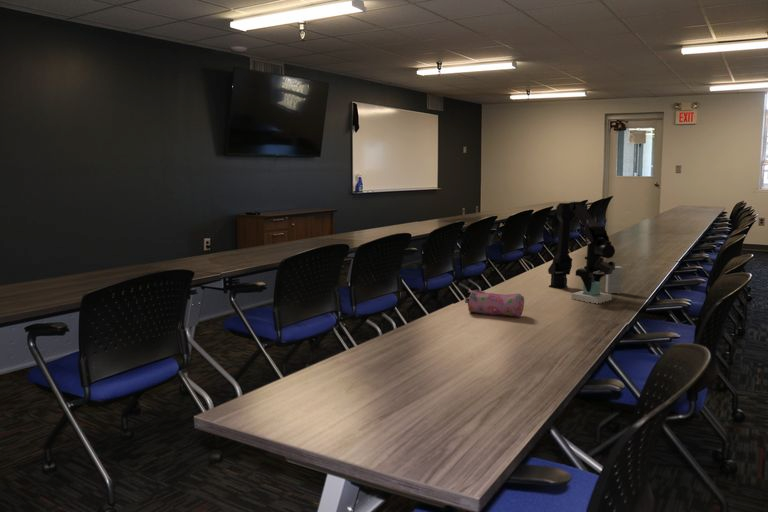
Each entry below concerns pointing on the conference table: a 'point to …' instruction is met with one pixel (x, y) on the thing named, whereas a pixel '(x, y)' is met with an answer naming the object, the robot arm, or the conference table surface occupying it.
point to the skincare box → (614, 281)
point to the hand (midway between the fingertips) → (591, 290)
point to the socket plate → (591, 297)
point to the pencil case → (495, 303)
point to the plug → (593, 288)
